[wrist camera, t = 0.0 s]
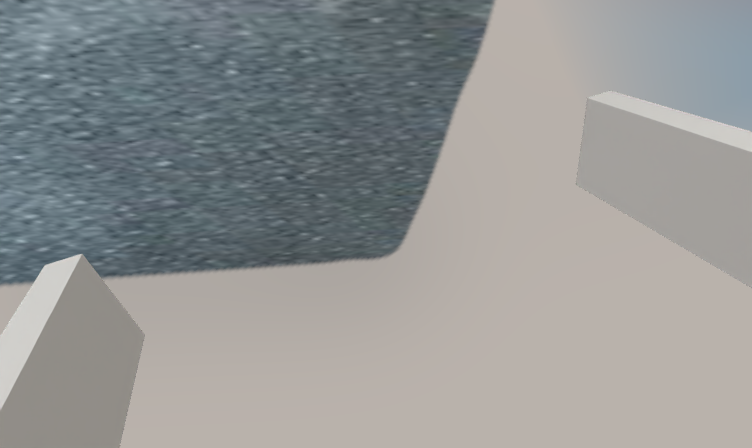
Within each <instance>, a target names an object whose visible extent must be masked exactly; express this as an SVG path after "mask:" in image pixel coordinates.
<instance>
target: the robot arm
mask: <svg viewBox="0 0 752 448" xmlns="http://www.w3.org/2000/svg"><path fill="white" fill-rule="evenodd" d="M576 185H577V186H579V187H581V188H583V189H584V190H586V191H588V192H589V193H591V194H593V195H594V196H596V197H598V198H599V199H601V200H603V201H605V202H606V203H608V204H610V205H611V206H613V207H615V208H617V209H618V210H620V211H622V212H623V213H625V214H627V215H628V216H630V217H632V218H634V219H635V220H637V221H639V222H640V223H642V224H644V225H645V226H647V227H649V228H650V229H652V230H654V231H656V232H657V233H659V234H661V235H662V236H664V237H666V238H667V239H669V240H671V241H673V242H674V243H676V244H678V245H680V246H681V247H683V248H684V249H686V250H688V251H690V252H692V253H693V254H695V255H696V256H698V257H700V258H701V259H703V260H705V261H707V262H708V263H710V264H712V265H713V266H715V267H717V268H719V269H720V270H722V271H724V272H726V273H727V274H729V275H730V276H732V277H734V278H735V279H737V280H739V281H741V282H742V283H744V284H746V285H747V286H749V287H751V288H752V132H751V131H748V130H744V129H741V128H737V127H734V126H730V125H727V124H723V123H720V122H717V121H713V120H710V119H706V118H703V117H699V116H696V115H692V114H689V113H686V112H682V111H678V110H675V109H672V108H668V107H665V106H662V105H658V104H655V103H651V102H648V101H644V100H641V99H637V98H634V97H630V96H627V95H624V94H620V93H617V92H614V91H609V92H605V93H602V94H598V95H596V96H592V97H589V98H587V104H586V112H585V119H584V127H583V135H582V142H581V149H580V157H579V164H578V172H577V180H576ZM144 337H145V334H144V333H143V332H142V330H141V329H140V328H139V327H138V325H137V324H136V323H135V321H134V320H133V319H132V318H131V316H130V315H129V314H128V312H127V311H126V310H125V308H124V307H123V306H122V305H121V303H120V302H119V301H118V299H117V298H116V297H115V296H114V294H113V293H112V292H111V290H110V289H109V288H108V287H107V285H106V284H105V283H104V281H103V280H102V279H101V278H100V276H99V275H98V274H97V272H96V271H95V270H94V269H93V267H92V266H91V265H90V263H89V262H88V261H87V260H86V258H85V257H84V256H83V254H80V255H77V256H73V257H70V258H67V259H64V260H60V261H57V262H54V263H51V264H48V265H45V266H44V268H43V269H42V271H41V272H40V274H39V275H38V277H37V279H36V280H35V282H34V283H33V285H32V287H31V288H30V290H29V291H28V293H27V295H26V296H25V298H24V299H23V301H22V303H21V304H20V306H19V307H18V309H17V310H16V312H15V314H14V315H13V317H12V318H11V320H10V322H9V323H8V325H7V326H6V328H5V329H4V331H3V333H2V334H1V336H0V448H119V447H120V443H121V438H122V434H123V430H124V425H125V421H126V416H127V412H128V407H129V403H130V399H131V394H132V390H133V385H134V381H135V377H136V372H137V368H138V363H139V359H140V354H141V350H142V346H143V341H144Z"/></svg>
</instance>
